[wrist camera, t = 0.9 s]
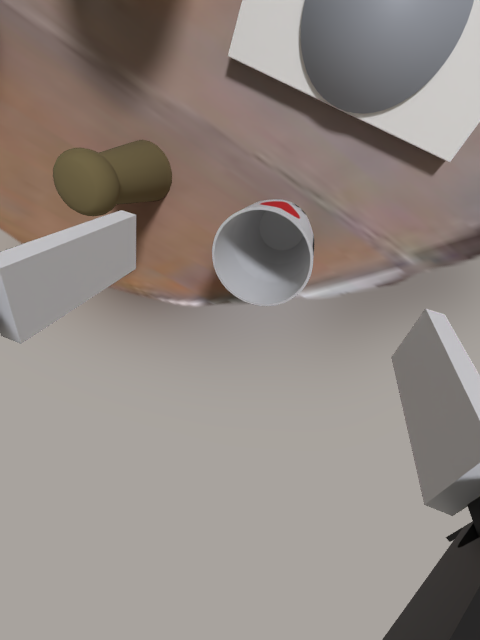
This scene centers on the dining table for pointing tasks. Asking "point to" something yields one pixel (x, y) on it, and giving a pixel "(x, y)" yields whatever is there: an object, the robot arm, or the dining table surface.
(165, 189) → the olive peg figure
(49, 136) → the dining table surface
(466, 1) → the board
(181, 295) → the dining table surface
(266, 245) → the cup
